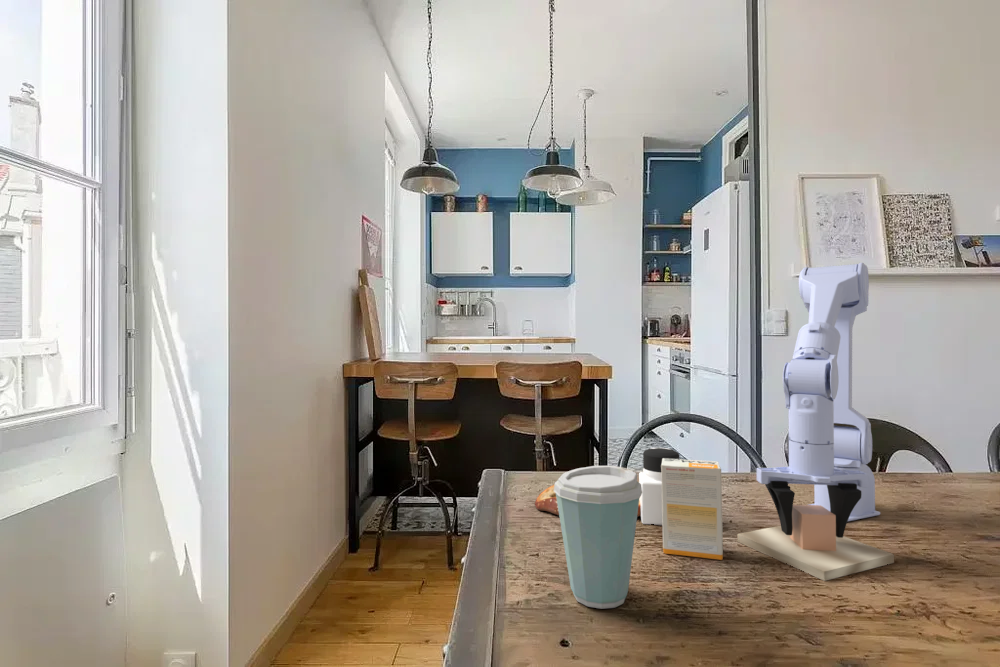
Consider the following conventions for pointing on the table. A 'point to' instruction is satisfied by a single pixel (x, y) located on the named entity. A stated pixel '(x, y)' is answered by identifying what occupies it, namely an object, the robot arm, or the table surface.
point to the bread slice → (555, 502)
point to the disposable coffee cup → (598, 531)
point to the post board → (817, 554)
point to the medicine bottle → (653, 484)
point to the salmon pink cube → (813, 527)
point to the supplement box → (692, 508)
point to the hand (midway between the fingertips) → (811, 533)
